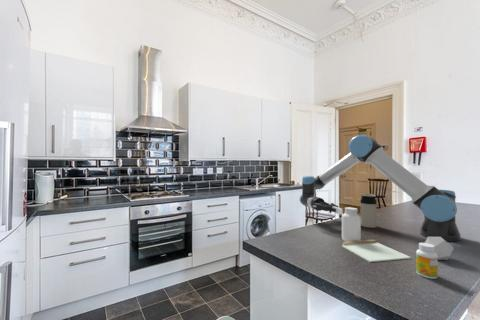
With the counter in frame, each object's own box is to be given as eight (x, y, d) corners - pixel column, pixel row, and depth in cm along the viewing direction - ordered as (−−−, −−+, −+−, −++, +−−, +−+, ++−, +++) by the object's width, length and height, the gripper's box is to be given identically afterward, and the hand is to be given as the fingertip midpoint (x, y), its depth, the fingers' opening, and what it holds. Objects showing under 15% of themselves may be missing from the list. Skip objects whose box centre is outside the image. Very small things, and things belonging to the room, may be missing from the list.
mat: (341, 246, 98) (341, 245, 98) (377, 243, 102) (377, 242, 102) (369, 262, 83) (369, 260, 83) (411, 258, 86) (411, 257, 86)
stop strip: (342, 245, 100) (342, 241, 100) (373, 243, 103) (373, 239, 103) (343, 246, 99) (343, 242, 99) (375, 243, 102) (375, 240, 102)
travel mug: (363, 227, 127) (363, 195, 128) (358, 224, 135) (358, 193, 136) (379, 228, 126) (378, 195, 126) (373, 224, 134) (373, 194, 134)
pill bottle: (359, 238, 108) (359, 207, 109) (362, 244, 101) (362, 210, 101) (340, 237, 111) (340, 206, 111) (342, 242, 103) (342, 209, 104)
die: (456, 267, 81) (461, 242, 84) (431, 253, 82) (438, 229, 85) (437, 265, 88) (443, 243, 91) (415, 253, 90) (421, 231, 93)
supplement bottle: (411, 271, 76) (411, 241, 76) (426, 270, 76) (426, 241, 77) (426, 279, 71) (426, 247, 71) (442, 278, 71) (442, 247, 71)
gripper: (326, 209, 137) (352, 218, 114) (306, 210, 135) (329, 219, 112) (326, 196, 137) (352, 203, 114) (306, 197, 135) (329, 204, 112)
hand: (341, 211), depth 113 cm, fingers closed
